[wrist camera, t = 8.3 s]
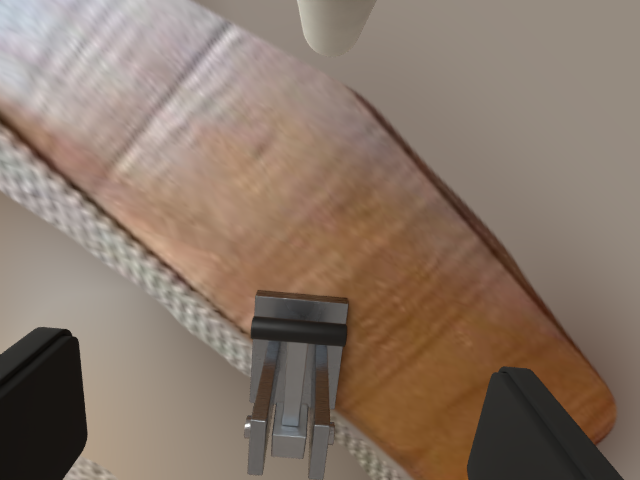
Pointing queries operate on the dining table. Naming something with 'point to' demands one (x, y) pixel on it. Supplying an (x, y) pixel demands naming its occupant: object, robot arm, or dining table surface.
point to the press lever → (294, 375)
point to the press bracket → (273, 369)
